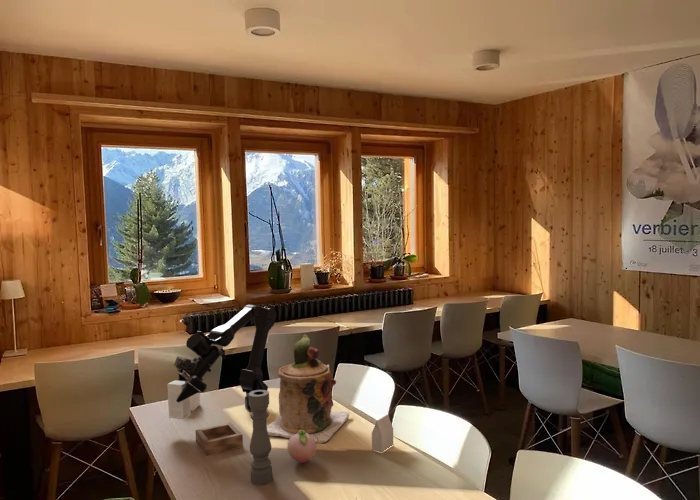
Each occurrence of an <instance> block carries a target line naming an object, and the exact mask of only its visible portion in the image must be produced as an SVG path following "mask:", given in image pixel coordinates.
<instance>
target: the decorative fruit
mask: <svg viewBox="0 0 700 500" xmlns="http://www.w3.org/2000/svg"><path fill="white" fill-rule="evenodd" d="M316 443H317V442H315V441H314V440H313V438H312V437H311V436H310V435H309V434H308V433H306V432H305V431H304V430H299V431H298V433H297V434H295V435H293V436H292V437H291V438H288V441H287V447H286V448H287V452H288V454H289V457H291V459H293V460H294V461H297V462H299V463H301V464H304V463H307V462H308V461H310V460H311V459H312V458H313V457H314V455H315V454H316V452H317V444H316Z"/></svg>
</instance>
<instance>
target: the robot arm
mask: <svg viewBox="0 0 700 500" xmlns="http://www.w3.org/2000/svg"><path fill="white" fill-rule="evenodd" d="M277 316H278V315H277V312H276V309H275V308H271V307H262V306H259V305H256V304H246V305H245V306H244V307H243V309H242V310H240V311H239V312H238V313H237V314H235V315H234V316H233V317H232V318H231V319H230V320H228V321H227V322H226V323H224V324H221V325H218V326H217V327H215V328H213V329H211V330H210V331H209V333H207V334H206V335H205V333H204V332H203V331H200V330H197V331H196V332H195V333H193V334H192V335H191V336H190V337H188V338H187V340H186V343H185V345H186V348H188V349H189V350H190V351H192V352H193V353H194V354H196V355H197V356H198V357H193V359H190V358H187V357H182V356H176V359H175V361H174V364H173V366H175V368H176V371H177V372H176V374H177V381H185V387H184V389H183V390H182V392H181V393H180V395H179V396H178V398H177V400H176V401H177V402H178V403H179V402H181V401H183V400H185V399H186V398H188V397H190V396H192V395H194V394H197V393H200V394H201V393H203V394H204V393H205V391H206V390H207V386H208V385H207V383H206V382H204V377H205V376H206V374H207V373H211V371H212V369H211V368H212V367H213V366H214V365H215V364H216V362H217V361H218V360H219V359H220V357H221V358H222V359H226V350H225V349H223V348H224V347H227V346H229V345H230V344H231V342H233V340H234V338H235V335H236V333H237V332H238V331H239V330H241V329H242V328H243V327H245V325H246V324H247V323H249V321H251V320H252V319H253V323H254V326H255V332H254V333H255V334H254V337H253V342H252V347H251V352H250V356H249V361H248V365H247V366H246V367H245V369H243V368H242V369H241V371H240V376H239V379H238V380H239V385H240V388H241V390H242V393H245V396H244V407H245V408H246V409H247V410H248V411H249V412H252V410H251V409H250V406H249V392H251V391H255V390H267V391H269V390H268V388H269V386H268V385H267V384H266V383H265V382H264V374H263V370H262V363H263V360H264V354H265V352H266V351H265V350H266V345H267V341H268V336H269V332H270V330H271V329H272V328H273V326H274V325H275V322H276V320H277ZM218 346H219V347H223V348H219V347H218ZM187 381H188V382H189V383H188V382H187ZM199 390H200V391H199Z"/></svg>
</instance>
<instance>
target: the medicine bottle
mask: <svg viewBox="0 0 700 500" xmlns="http://www.w3.org/2000/svg"><path fill="white" fill-rule="evenodd" d="M199 391H200V390H199ZM200 405H201V391H200V393H197V394H194V395H192V396H190V412H193V411H196V409H197V408H198V407H200Z"/></svg>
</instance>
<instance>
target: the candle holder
mask: <svg viewBox="0 0 700 500" xmlns="http://www.w3.org/2000/svg"><path fill="white" fill-rule="evenodd" d="M269 405H270V391H269V390H255V391H251V392H249V406H250V409H251V410H252V411H251V413H250V414H249V416H250V419H252V432H251V433H252V434H251V438H250V443H249V451H250V454H251V456H252V459H253V460H252V461H251V463H250V466H251V467H250V469H249V474H250V475H249V476H250V483H251V484H253V485H256V486H263V485H267V484H270V483H271V482H272V481H273V475H274V474H273V466H272V461H271V459H270V458H269V455H270V453H271V450H272V443H271V439H270V435H268V431H267V427H268V424H267V423H268V422H267V419H268V417H269V416H270V414H269V412H268V411H267V410H268V408H269Z"/></svg>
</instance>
